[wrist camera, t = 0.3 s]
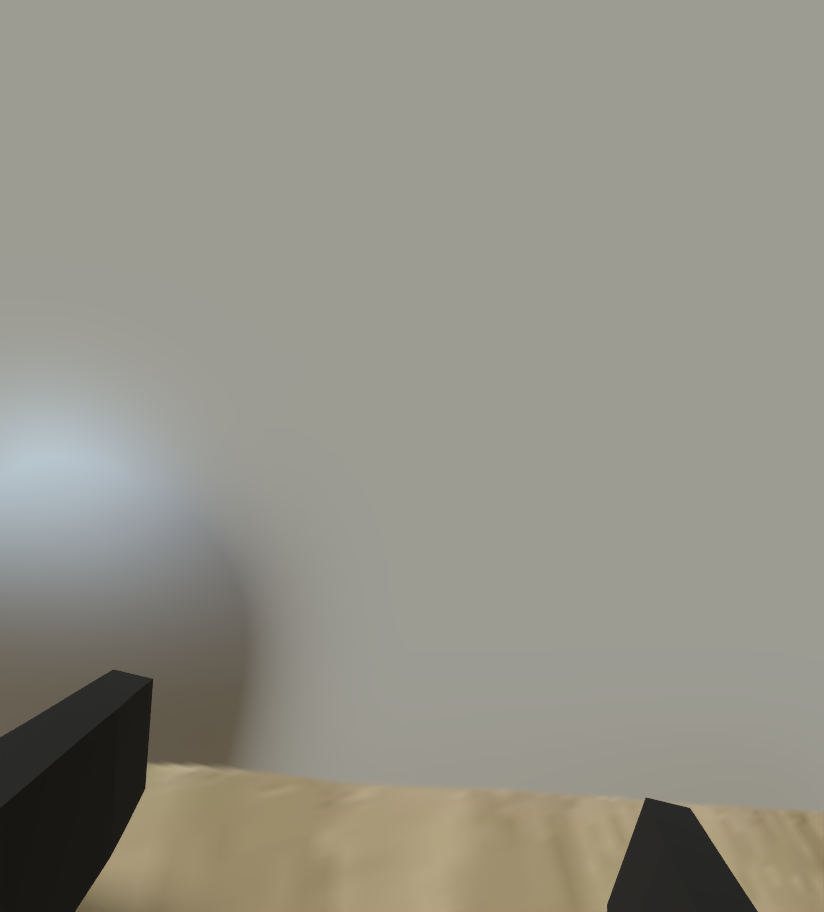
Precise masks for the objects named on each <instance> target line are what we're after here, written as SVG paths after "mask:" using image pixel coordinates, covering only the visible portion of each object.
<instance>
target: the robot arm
mask: <svg viewBox="0 0 824 912" xmlns="http://www.w3.org/2000/svg"><path fill="white" fill-rule="evenodd" d="M152 687H153V679H150V678H147V677H142V676H138V675H134V674H130V673H125V672H122V671H117V670H112V671H110V672H109V673H107V674H105V675H103V676H102V677H100V678H98V679H97V680H95V681H93V682H92V683H90V684H88V685H87V686H85V687H84V688H82V689H80V690H78V691H77V692H75V693H73V694H72V695H70V696H68V697H67V698H65V699H64V700H62V701H60V702H59V703H57V704H55V705H54V706H52V707H50V708H49V709H47V710H45V711H44V712H42V713H40V714H39V715H37V716H36V717H34V718H32V719H31V720H29V721H27V722H26V723H24V724H23V725H21V726H19V727H17V728H15V729H14V730H12V731H10V732H9V733H7V734H5V735H4V736H2V737H0V912H75V911H76V909H77V907H78V906H79V904H80V903H81V901H82V900H83V898H84V897H85V895H86V894H87V892H88V891H89V889H90V888H91V886H92V885H93V883H94V882H95V880H96V878H97V877H98V875H99V874H100V872H101V871H102V869H103V868H104V866H105V865H106V863H107V861H108V860H109V858H110V857H111V855H112V853H113V851H114V849H115V847H116V845H117V843H118V842H119V840H120V838H121V836H122V834H123V832H124V830H125V828H126V826H127V824H128V822H129V820H130V818H131V816H132V814H133V812H134V810H135V808H136V806H137V804H138V802H139V800H140V798H141V796H142V794H143V792H144V790H145V784H146V770H147V756H148V742H149V728H150V727H149V726H150V714H151V700H152ZM607 912H758V911H757V910H756V908H755V907H754V905H753V904H752V902H751V901H750V899H749V898H748V896H747V895H746V893H745V892H744V890H743V889H742V887H741V886H740V884H739V883H738V881H737V880H736V878H735V877H734V875H733V873H732V872H731V870H730V869H729V867H728V866H727V864H726V863H725V861H724V860H723V858H722V857H721V855H720V853H719V852H718V850H717V849H716V847H715V846H714V844H713V843H712V841H711V839H710V838H709V836H708V835H707V833H706V832H705V830H704V829H703V827H702V826H701V824H700V823H699V821H698V819H697V818H696V816H695V815H694V813H693V812H692V810H691V809H690V808H687V807H683V806H679V805H675V804H671V803H667V802H662V801H658V800H654V799H650V798H646V799H645V801H644V804H643V807H642V810H641V813H640V815H639V818H638V821H637V824H636V826H635V829H634V832H633V835H632V837H631V840H630V843H629V846H628V849H627V851H626V854H625V857H624V860H623V862H622V865H621V868H620V871H619V874H618V876H617V879H616V882H615V885H614V887H613V890H612V893H611V896H610V898H609V901H608V904H607Z"/></svg>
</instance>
